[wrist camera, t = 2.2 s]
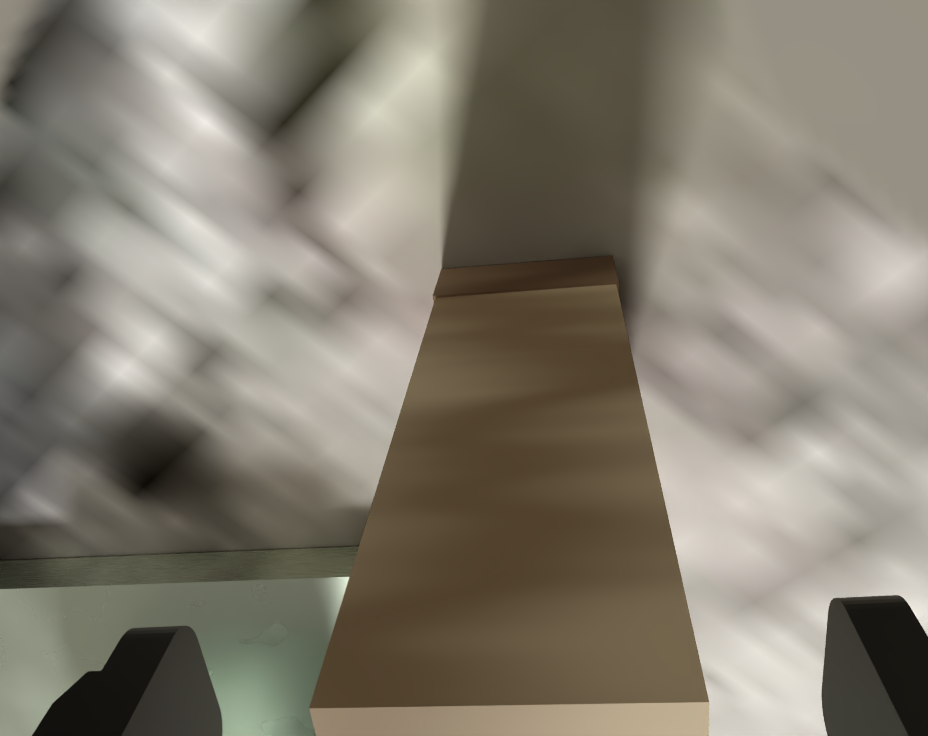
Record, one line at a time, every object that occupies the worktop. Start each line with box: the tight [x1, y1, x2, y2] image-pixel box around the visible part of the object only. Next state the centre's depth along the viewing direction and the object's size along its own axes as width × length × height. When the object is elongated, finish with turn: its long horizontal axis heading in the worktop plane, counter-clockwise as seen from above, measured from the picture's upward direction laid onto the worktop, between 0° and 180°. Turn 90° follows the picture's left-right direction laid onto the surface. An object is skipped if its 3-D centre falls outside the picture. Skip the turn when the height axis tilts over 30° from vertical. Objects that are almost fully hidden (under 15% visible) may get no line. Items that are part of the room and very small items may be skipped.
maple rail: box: [309, 255, 709, 736], centre depth 14 cm, size 4×4×12 cm
